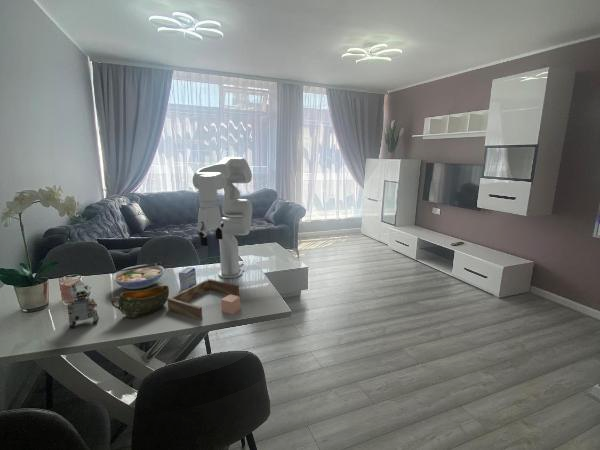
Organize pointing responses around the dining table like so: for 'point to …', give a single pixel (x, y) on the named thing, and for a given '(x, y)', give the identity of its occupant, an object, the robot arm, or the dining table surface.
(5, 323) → the dining table surface
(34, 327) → the dining table surface
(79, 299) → the figurine
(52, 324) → the dining table surface
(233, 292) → the wooden open frame
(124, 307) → the cup
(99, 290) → the dining table surface
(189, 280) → the medicine box
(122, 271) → the ramen bowl
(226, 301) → the terracotta block
